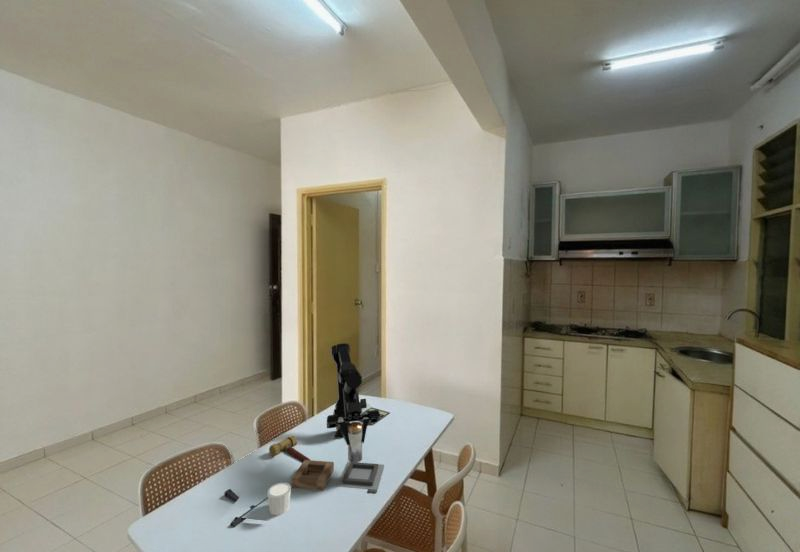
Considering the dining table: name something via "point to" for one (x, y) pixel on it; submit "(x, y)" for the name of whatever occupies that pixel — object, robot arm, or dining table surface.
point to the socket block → (313, 475)
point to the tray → (361, 476)
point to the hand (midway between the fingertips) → (355, 443)
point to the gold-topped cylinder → (355, 442)
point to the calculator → (382, 413)
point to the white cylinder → (279, 498)
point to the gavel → (287, 448)
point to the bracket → (234, 497)
